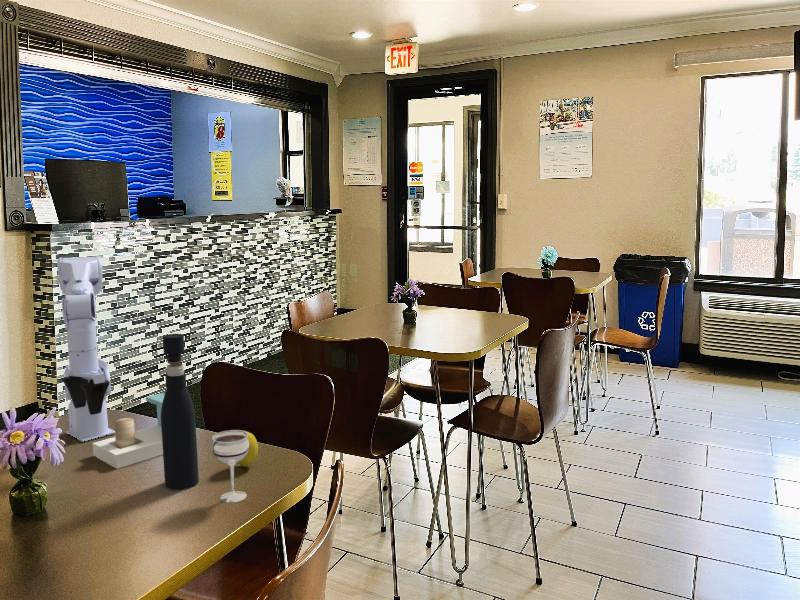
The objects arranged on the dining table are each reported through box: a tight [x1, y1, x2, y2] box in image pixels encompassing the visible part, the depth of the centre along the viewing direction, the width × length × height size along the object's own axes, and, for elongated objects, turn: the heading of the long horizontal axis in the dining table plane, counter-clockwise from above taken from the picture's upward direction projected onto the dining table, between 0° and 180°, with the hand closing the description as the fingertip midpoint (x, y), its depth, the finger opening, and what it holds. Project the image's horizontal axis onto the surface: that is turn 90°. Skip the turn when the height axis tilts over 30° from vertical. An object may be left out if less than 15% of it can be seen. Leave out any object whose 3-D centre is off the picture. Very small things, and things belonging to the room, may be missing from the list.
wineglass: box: [211, 429, 249, 504], centre depth 125 cm, size 7×7×12 cm
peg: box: [114, 417, 136, 449], centre depth 146 cm, size 4×4×8 cm
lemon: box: [236, 430, 259, 468], centre depth 139 cm, size 6×6×8 cm
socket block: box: [92, 392, 165, 470], centre depth 148 cm, size 11×17×10 cm, turn 139°
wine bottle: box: [161, 333, 200, 491], centre depth 129 cm, size 6×6×30 cm
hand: (87, 410), depth 145 cm, fingers open, 7 cm apart
